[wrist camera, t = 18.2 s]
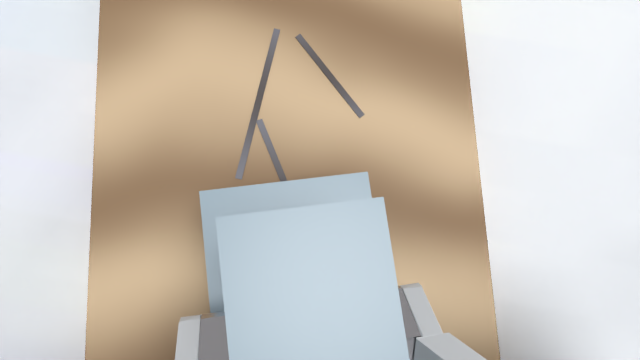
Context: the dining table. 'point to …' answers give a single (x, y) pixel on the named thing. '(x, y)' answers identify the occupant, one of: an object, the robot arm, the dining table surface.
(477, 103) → the dining table surface
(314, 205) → the block
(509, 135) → the dining table surface
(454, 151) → the oak board
